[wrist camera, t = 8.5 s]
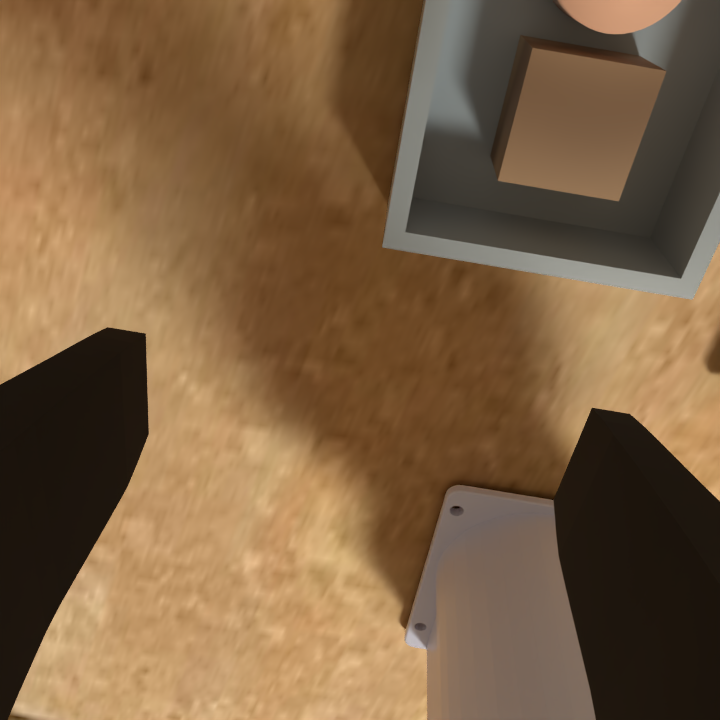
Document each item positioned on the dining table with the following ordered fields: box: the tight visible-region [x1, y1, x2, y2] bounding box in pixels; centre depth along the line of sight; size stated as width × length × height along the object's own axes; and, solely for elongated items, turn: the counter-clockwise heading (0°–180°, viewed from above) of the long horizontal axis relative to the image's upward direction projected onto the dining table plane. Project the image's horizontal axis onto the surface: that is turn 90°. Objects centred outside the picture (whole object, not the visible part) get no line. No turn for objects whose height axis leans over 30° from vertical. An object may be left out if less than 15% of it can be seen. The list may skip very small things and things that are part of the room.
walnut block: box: [490, 35, 666, 201], centre depth 17 cm, size 3×3×2 cm
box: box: [382, 0, 720, 300], centre depth 16 cm, size 10×8×3 cm
